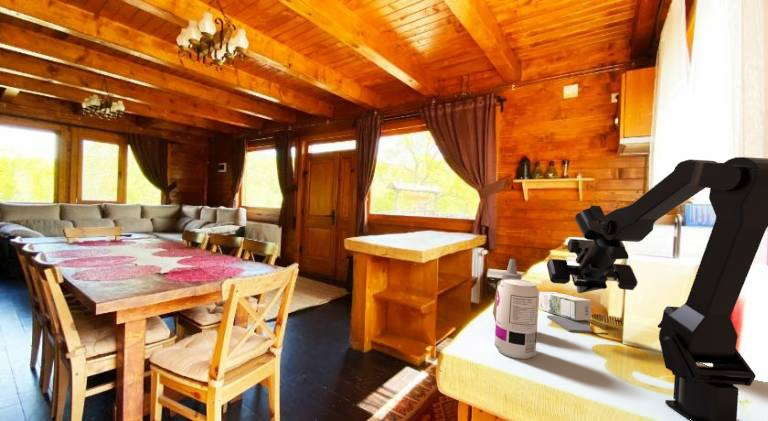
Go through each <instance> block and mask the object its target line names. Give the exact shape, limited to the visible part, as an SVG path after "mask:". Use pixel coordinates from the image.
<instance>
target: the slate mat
mask: <svg viewBox="0 0 768 421" xmlns="http://www.w3.org/2000/svg"><path fill="white" fill-rule="evenodd" d="M546 318H547V319H549V320H550V321H551V322H554V323H555V324H556V325H558V326H559V327H561V328H563V329H564V330H566V331H567V332H569V333H586V334H593V333H592V332H593V331H592V330H591V329H590V322H591V321H590V320H573V319H569V318H566V317H563V316H559V315H546Z"/></svg>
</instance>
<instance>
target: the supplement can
mask: <svg viewBox="0 0 768 421" xmlns="http://www.w3.org/2000/svg"><path fill="white" fill-rule="evenodd" d="M500 280H501V283H500V284H499V286H498V293H497V311H496V323H495V329H494V330H495V331H494V347H495V348H496V349H497V351H498V352H499V353H501V355H505V356H506V357H509V358H512V359H519V360H527V359H531V358H532V357H534V356H535V355H536V352H537V337H538V336H537V335H538V319H539V318H538V317H539V292H540V291H539V289H538V287H537V283H535V282H532V281H529V280H525V279H521V280H520V279H502V278H501V279H500Z"/></svg>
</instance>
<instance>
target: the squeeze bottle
mask: <svg viewBox="0 0 768 421" xmlns="http://www.w3.org/2000/svg"><path fill="white" fill-rule="evenodd" d="M502 279H520V280H522V274H521V273H518V270H517V264H516V259H514V258H510V259H509V261H508V265H507V269H506V271H502V272H501V279H500V280H499V281H497V284H496V290H495V295H494V296H495V297H494V303H493V310H492V315H493V318H494V321H495V324H496V311H497V293H498V286H499V284H500V283H501V280H502Z"/></svg>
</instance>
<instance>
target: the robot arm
mask: <svg viewBox="0 0 768 421" xmlns="http://www.w3.org/2000/svg"><path fill="white" fill-rule="evenodd" d="M704 189H709V194H708V195H709V196H708V200H709V201H710V204H711V208H712V209H713V212H714V214H715V221H714V224H713V226H712V228H711V231H710V235H709V237H708V240H707V243H706V246H705V248H704V252H703V255H702V257H701V260H700V263H699V265H698V269H697V270H696V273H695V277H694V279H693V282H692V284H691V287H690V291H689V294H688V296H687V299H686V301H685V303H684V304H682V305H681V306H665V308H664V310H663V313H662V318H661V321H660V323H658V324H657V328H658V329H659V333H658V340H659V344H660V347H661V353H662V357H663V358H662V359H663V363H664V366H665V368H666V369H667V370H668V371H670V372H671V373H672V375H673V376H674V381H673V382H674V383H673V384H674V385H673V399H672V400H671V399H666V400H665V405H667V407H670V408H671V409H673V410H674V411H676V412H677V413H679V414H680V415H681V416H683V417H685V418H686V419H688V420H689V419H691V420H692V421H737V418H738V405H739V404H738V402H739V387H737V386H745V387H751V386H752V384H753V382H754V380H755V378H756V376H757V375H756V374H755V372H754V371H753V369H752V368H751V366H749V364H748V363H747V362H746V360H745V359H744V357H743V356H742V355H741V353H740V352H739V350H738V349H737V343H738V342H737V341H738V338H739V337H738V331H737V329H736V327H735V324H734V322H733V320H732V314H733V311H734V310H735V307H736V304H737V301H738V300H739V296H740V294H741V292H742V290H743V287H744V284H745V283H746V279H747V278H748V275H749V272H750V269H751V268H752V265H753V262H754V260H755V258H756V255H757V253H758V249H759V247H760V245H761V242H762V240H763V238H764V235H765V232H766V230H767V228H768V158H765V157H749V156H748V157H746V156H736V157H733V158H730V159H727V160H726V161H724V162H717V161H715V160H710V159H709V160H707V159H705V160H704V159H690V158H689V159H686V160H683V161H680V162H678V164H676V165H675V167H674V170H673V171H671V172H670V173H669V174H668V175H666V177H663V179H661V180H660V181H659V182H658V183H657V184H655V185H654V186H653V187H651V188H650V189H649V190H648V191H646V192H645V193H644V194H643V195H642V196H640V197H639V198H637V200H635V201H633V202H632V203H631V204H629V205H627V206H623V207H619V208H616V209H613V210H612V211H610V212H608V213H606V214H605V213H604V210H603V208H602V207H601V205H590V207H589V208H586V209H583V210H581V211H579V213H576V215H575V216H574V220H575V222H576V224H577V226H578V228H579V230H580V232H581V233H582V234H581V235H583V238H584V239H577V238H570V239H569V240H568V242H567V245H566V248H567V251H568V252H569V253H570V254H575V255H576V258H575V262H576V264H578V265H573V264H568V261H567V260H566V259H559V258H549V260H547V262H546V268H547V273H548V276H549V280H550V282H551V283H552V284H559V285H561V284H563V285H566V284H568V283H570V281H571V280H572V282H573V285H574V286H575V287H576V291H577V293H578V294H584V293H588V292H592V291H597V290H606V289H607V288H608V285H607V282H610V281H612V282H617V281H618V284H617V287H618V289H620V290H624V291H625V290H626V291H627V290H628V291H634V289H635V288H636V287H637V286H638V283H639V282H638V279H637V276H636V275H635V272H634V270H633V268H632V267H631V265H630V264H625V263H624V264H623V263H616V261H617V260H628V259H630V258H629V253H628V251H627V250H626V246H625V244H624V242H629V243H630V242H631V243H639V242H641V241H643V240H644V239H645V238H647V236H648V235H649V234H650V233H651V232H652V231H653V230H654V225H655V223H656V222H657V221H658V220H660V219H661V218H662V217H664V216H665V215H667V214H668V213H670V212H671V211H673V210H674V209H676V208H678V207H679V206H680V205H682V204H683V203H685V202H686V201H687V200H689V199H691V198H692V197H694V196H695V195H696V194H698V193H700V192H701V191H702V190H704ZM699 363H700V364H711V365H712V366H709V365H708V366H707V365H698V364H699ZM735 385H736V386H735ZM691 420H690V421H691Z"/></svg>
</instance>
